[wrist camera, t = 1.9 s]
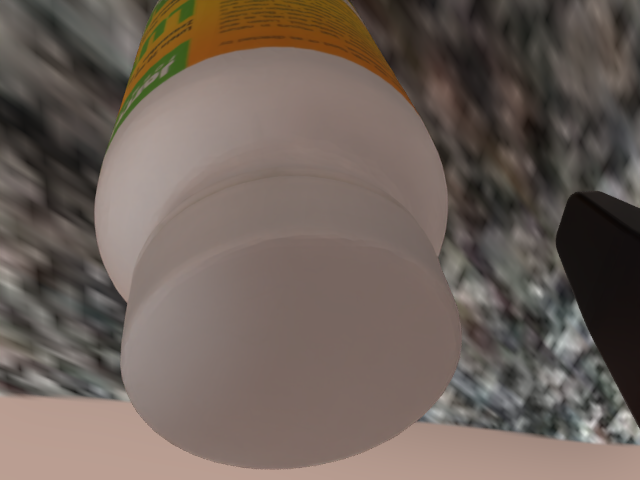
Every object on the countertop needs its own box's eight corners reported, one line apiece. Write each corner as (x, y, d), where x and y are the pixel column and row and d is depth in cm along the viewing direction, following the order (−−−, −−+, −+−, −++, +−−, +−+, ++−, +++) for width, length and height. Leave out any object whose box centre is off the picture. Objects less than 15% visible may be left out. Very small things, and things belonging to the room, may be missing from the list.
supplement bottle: (163, -92, 12) (71, 105, 5) (399, -12, 14) (617, 231, 6) (125, 138, 15) (30, 490, 8) (324, 182, 17) (412, 513, 9)
